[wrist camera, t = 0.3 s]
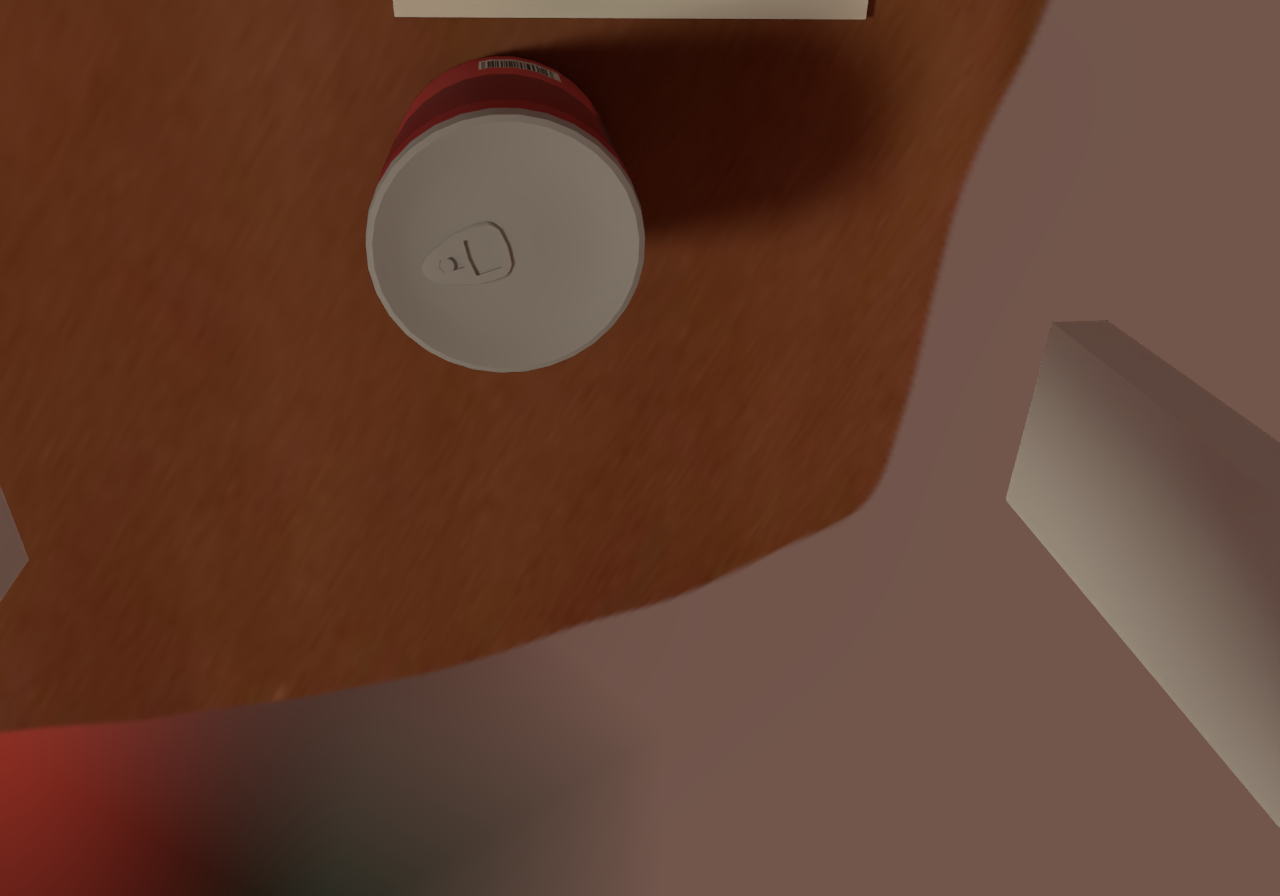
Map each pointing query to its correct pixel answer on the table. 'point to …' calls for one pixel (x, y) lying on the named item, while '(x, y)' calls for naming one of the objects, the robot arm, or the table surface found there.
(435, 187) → the canned food
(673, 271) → the table surface
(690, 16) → the mat
